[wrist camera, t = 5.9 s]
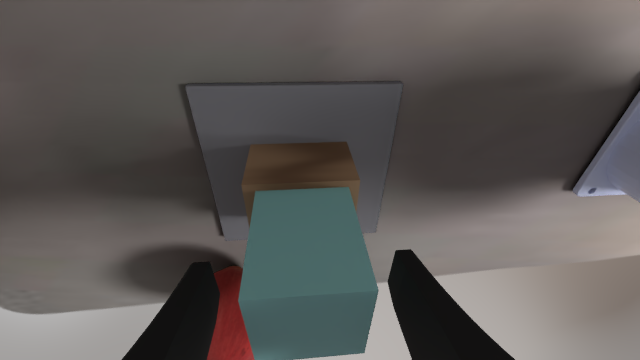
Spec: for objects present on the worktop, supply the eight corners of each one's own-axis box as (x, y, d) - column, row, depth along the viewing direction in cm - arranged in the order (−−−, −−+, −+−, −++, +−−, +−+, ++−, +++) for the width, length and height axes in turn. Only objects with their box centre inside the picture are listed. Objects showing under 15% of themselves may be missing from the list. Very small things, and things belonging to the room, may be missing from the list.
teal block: (343, 248, 15) (364, 352, 11) (264, 253, 14) (255, 362, 10) (349, 186, 12) (378, 290, 8) (255, 191, 12) (238, 301, 8)
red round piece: (280, 287, 23) (276, 412, 16) (207, 296, 22) (174, 425, 16) (267, 237, 19) (255, 370, 13) (181, 247, 19) (125, 387, 12)
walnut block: (346, 141, 15) (360, 180, 12) (341, 212, 18) (351, 256, 15) (250, 144, 14) (241, 185, 12) (261, 216, 17) (255, 262, 15)
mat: (400, 81, 14) (403, 83, 13) (374, 228, 20) (375, 232, 19) (187, 83, 13) (184, 86, 13) (226, 236, 19) (225, 240, 18)
